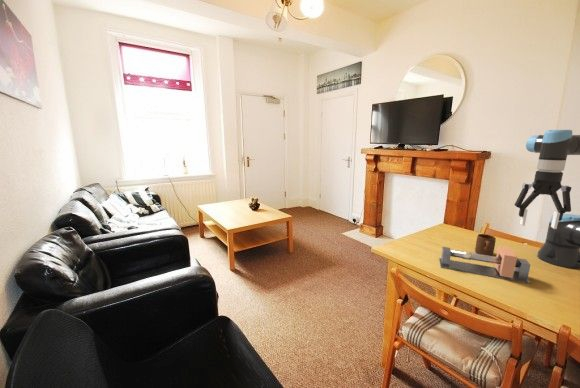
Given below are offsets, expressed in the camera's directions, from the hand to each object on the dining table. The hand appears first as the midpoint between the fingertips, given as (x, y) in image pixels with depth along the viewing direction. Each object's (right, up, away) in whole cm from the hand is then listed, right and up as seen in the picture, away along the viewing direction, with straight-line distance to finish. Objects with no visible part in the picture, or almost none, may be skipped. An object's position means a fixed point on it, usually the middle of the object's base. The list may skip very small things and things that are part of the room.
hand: (537, 226), depth 104 cm
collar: (-7, -21, +8) cm, 24 cm away
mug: (-2, -18, +27) cm, 32 cm away
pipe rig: (-14, -21, +12) cm, 28 cm away
